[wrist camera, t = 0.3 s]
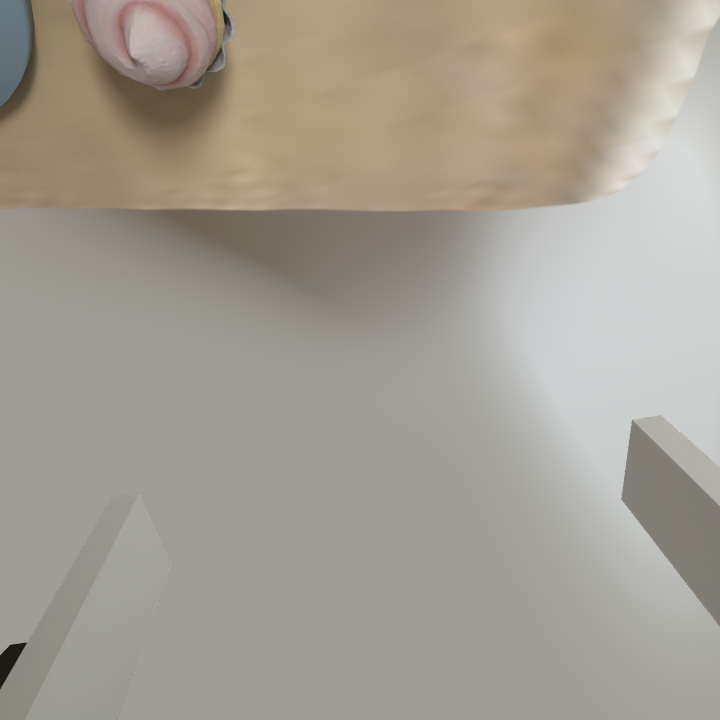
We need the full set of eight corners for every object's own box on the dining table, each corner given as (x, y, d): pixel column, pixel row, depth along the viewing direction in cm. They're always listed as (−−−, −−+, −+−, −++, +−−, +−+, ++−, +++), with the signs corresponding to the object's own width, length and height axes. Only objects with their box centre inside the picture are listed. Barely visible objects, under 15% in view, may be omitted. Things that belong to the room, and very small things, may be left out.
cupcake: (63, -147, 26) (3, -84, 21) (242, -96, 28) (230, -27, 23) (97, 40, 34) (60, 123, 28) (236, 68, 36) (227, 150, 30)
